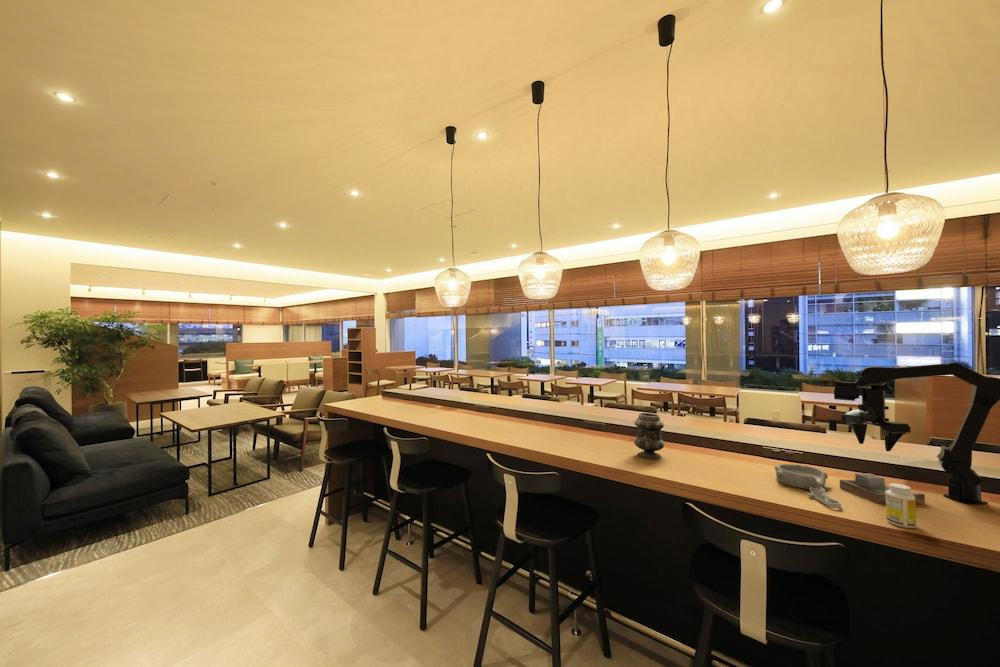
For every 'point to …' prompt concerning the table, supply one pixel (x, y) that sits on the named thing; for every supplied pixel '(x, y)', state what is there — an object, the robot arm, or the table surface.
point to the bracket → (823, 497)
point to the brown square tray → (873, 496)
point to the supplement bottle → (900, 506)
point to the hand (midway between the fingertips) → (874, 447)
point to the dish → (800, 475)
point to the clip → (870, 482)
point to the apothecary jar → (649, 435)
